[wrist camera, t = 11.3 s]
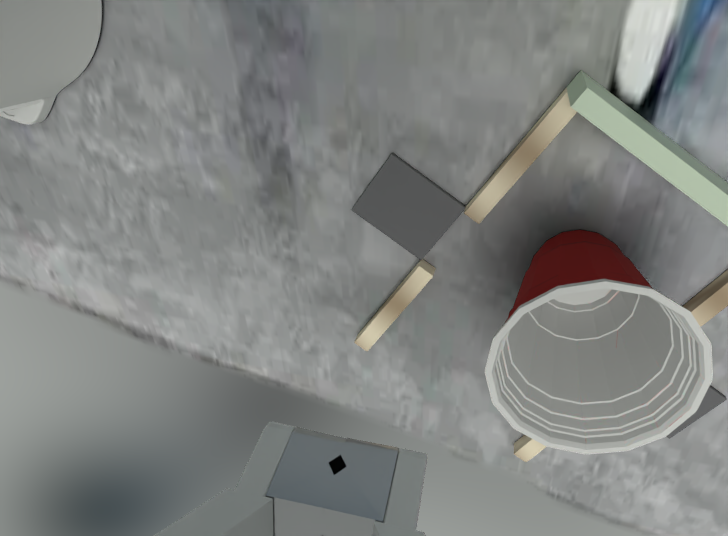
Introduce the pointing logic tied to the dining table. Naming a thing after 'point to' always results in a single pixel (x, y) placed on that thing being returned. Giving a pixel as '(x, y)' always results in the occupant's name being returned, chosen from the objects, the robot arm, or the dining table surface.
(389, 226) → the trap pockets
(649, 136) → the end stop
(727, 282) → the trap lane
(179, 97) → the dining table surface
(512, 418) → the plastic cup
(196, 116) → the dining table surface
